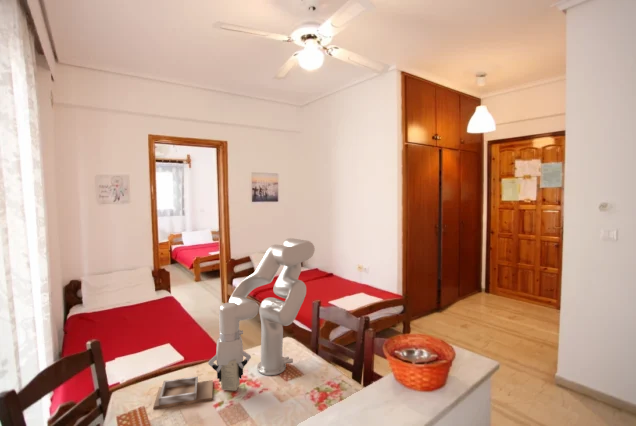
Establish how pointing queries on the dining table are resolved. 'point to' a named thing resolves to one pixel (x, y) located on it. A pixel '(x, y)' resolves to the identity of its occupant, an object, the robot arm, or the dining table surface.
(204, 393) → the box stand
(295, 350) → the dining table surface
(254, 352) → the dining table surface
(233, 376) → the skincare box
